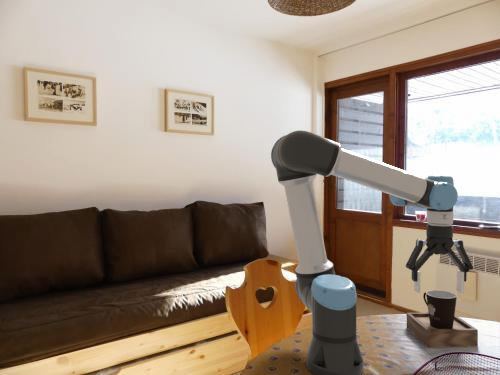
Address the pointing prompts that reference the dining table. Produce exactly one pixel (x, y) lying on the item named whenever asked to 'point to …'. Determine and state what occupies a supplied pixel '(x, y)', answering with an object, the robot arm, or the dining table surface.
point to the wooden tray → (442, 332)
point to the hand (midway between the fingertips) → (438, 291)
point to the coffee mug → (441, 308)
